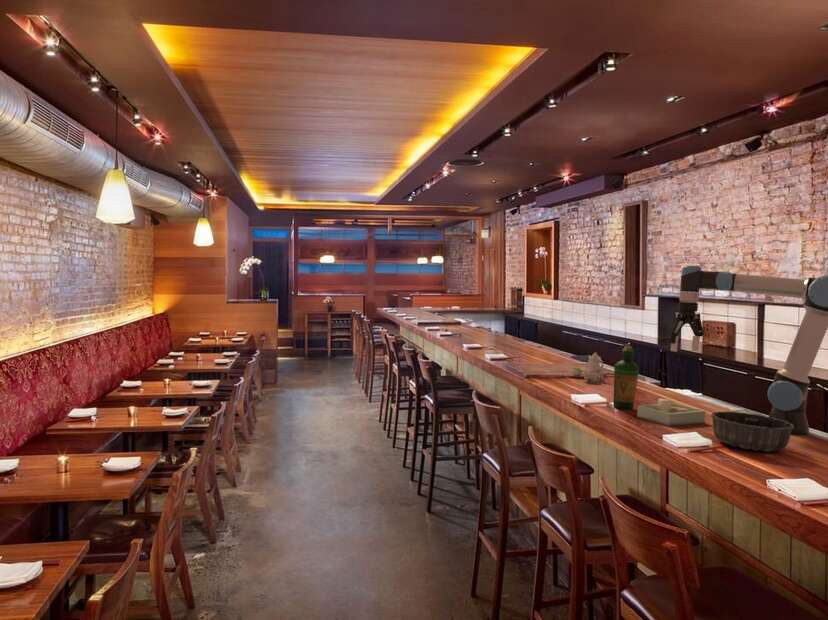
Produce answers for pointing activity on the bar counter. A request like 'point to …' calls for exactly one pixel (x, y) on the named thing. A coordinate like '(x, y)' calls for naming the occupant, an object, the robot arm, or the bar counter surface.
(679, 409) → the cube
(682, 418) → the tote
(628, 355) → the bottle
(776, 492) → the bar counter surface
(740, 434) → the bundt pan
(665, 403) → the cylinder
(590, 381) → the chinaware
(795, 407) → the robot arm
